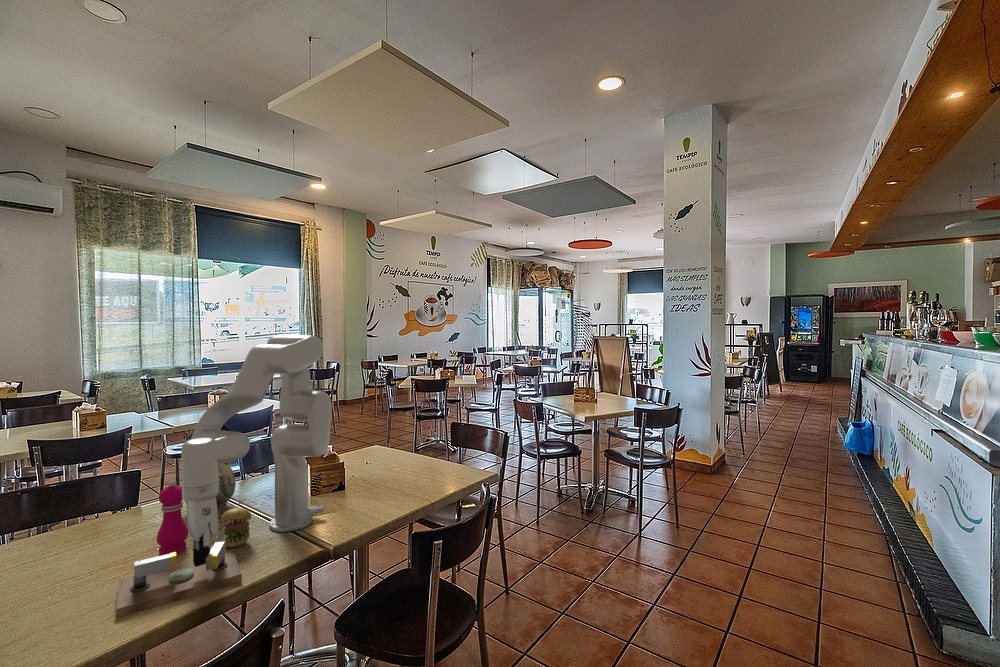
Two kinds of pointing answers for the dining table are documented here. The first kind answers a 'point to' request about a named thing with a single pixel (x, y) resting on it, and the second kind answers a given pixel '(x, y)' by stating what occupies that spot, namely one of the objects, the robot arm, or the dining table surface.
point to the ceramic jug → (224, 480)
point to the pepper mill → (172, 521)
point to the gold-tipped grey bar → (216, 556)
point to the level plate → (175, 585)
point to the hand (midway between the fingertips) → (201, 563)
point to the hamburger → (236, 526)
